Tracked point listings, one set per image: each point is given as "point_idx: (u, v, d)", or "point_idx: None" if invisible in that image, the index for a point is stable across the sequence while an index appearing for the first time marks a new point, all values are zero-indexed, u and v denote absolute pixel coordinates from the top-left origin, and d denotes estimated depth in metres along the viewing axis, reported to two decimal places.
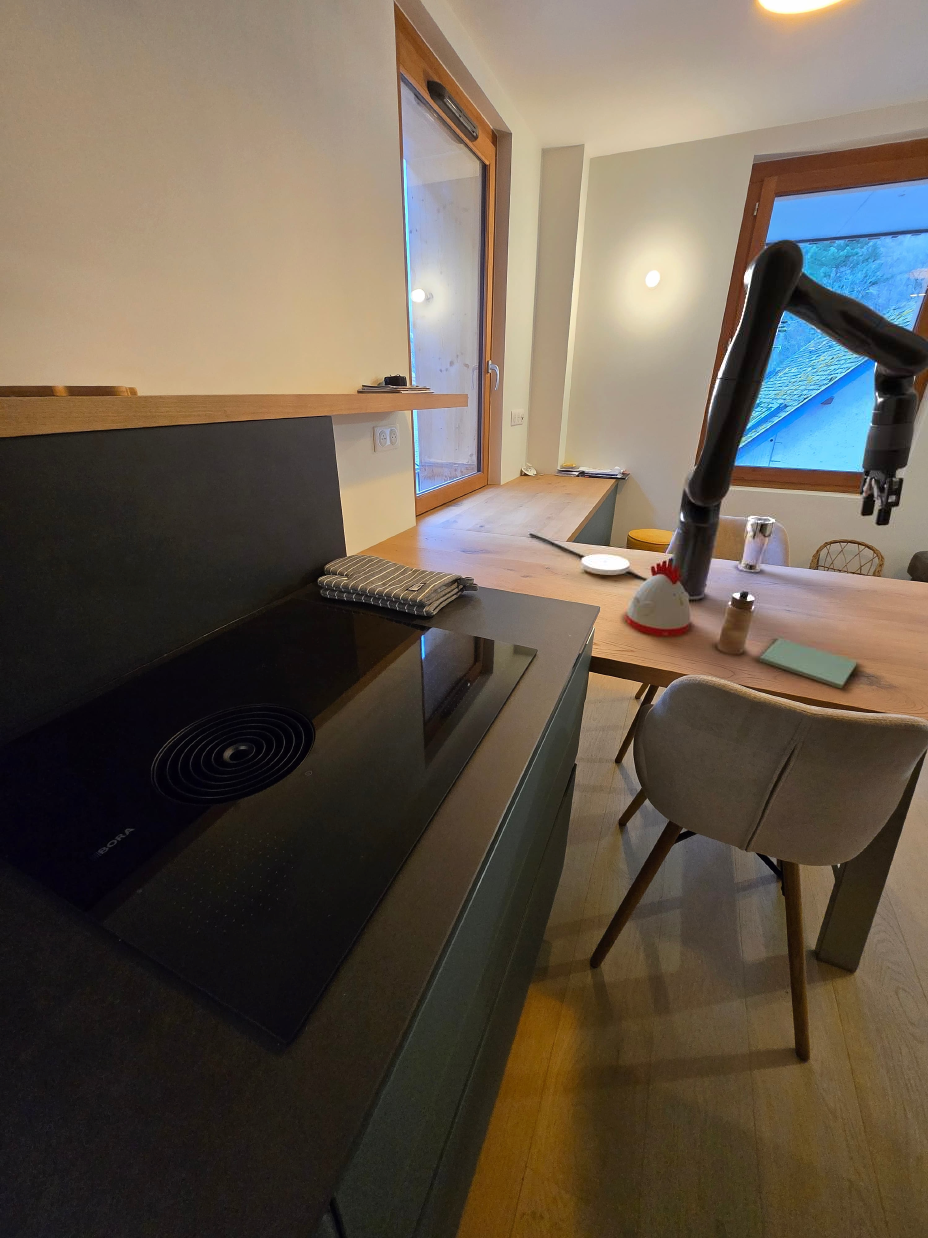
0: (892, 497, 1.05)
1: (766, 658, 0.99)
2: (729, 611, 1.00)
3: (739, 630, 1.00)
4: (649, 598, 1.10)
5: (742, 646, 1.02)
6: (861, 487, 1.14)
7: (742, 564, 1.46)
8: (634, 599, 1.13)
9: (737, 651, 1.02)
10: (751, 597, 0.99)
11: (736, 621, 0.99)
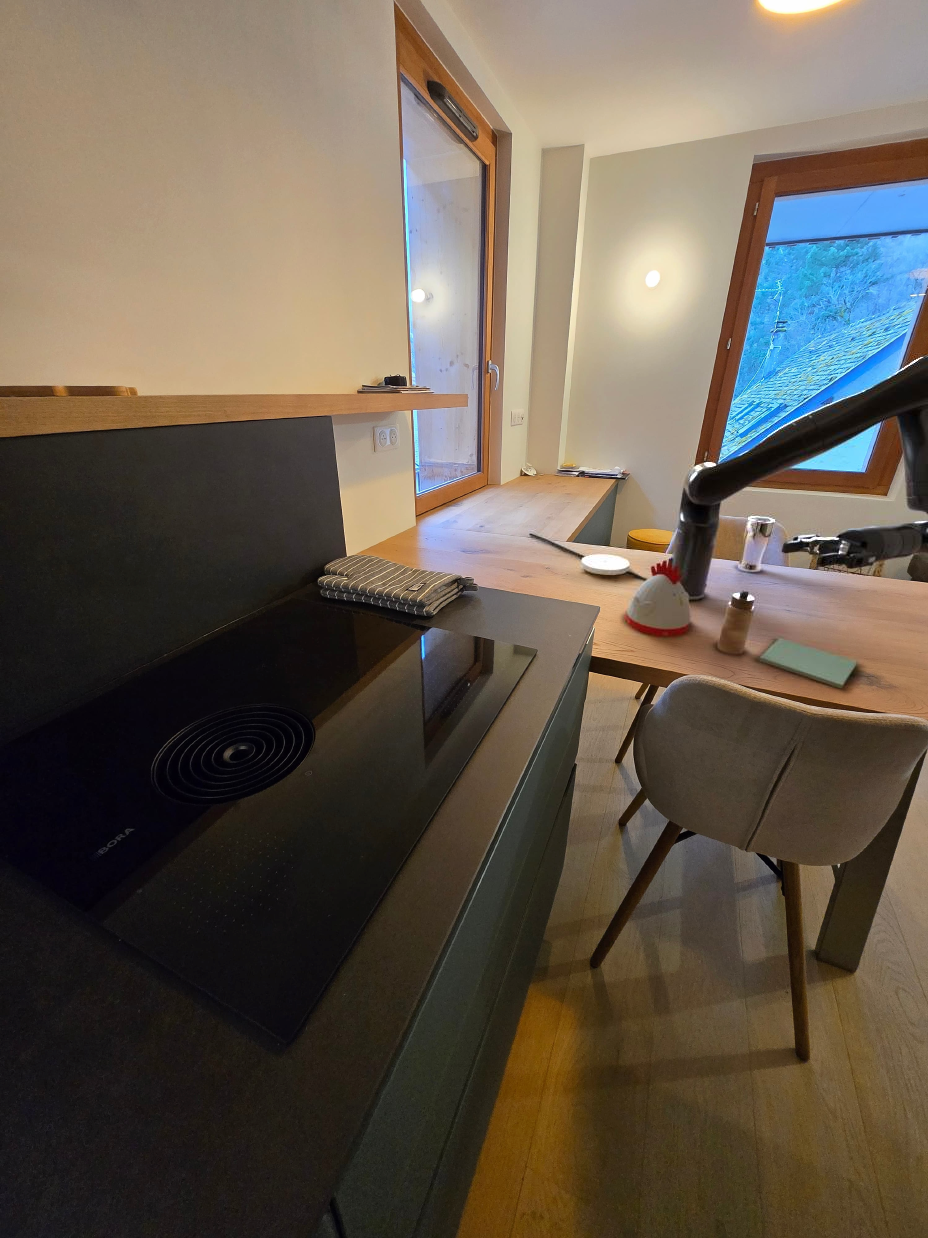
0: None
1: (766, 658, 0.99)
2: (729, 611, 1.00)
3: (739, 630, 1.00)
4: (649, 598, 1.10)
5: (742, 646, 1.02)
6: (802, 536, 1.04)
7: (742, 564, 1.46)
8: (634, 599, 1.13)
9: (737, 651, 1.02)
10: (751, 597, 0.99)
11: (736, 621, 0.99)
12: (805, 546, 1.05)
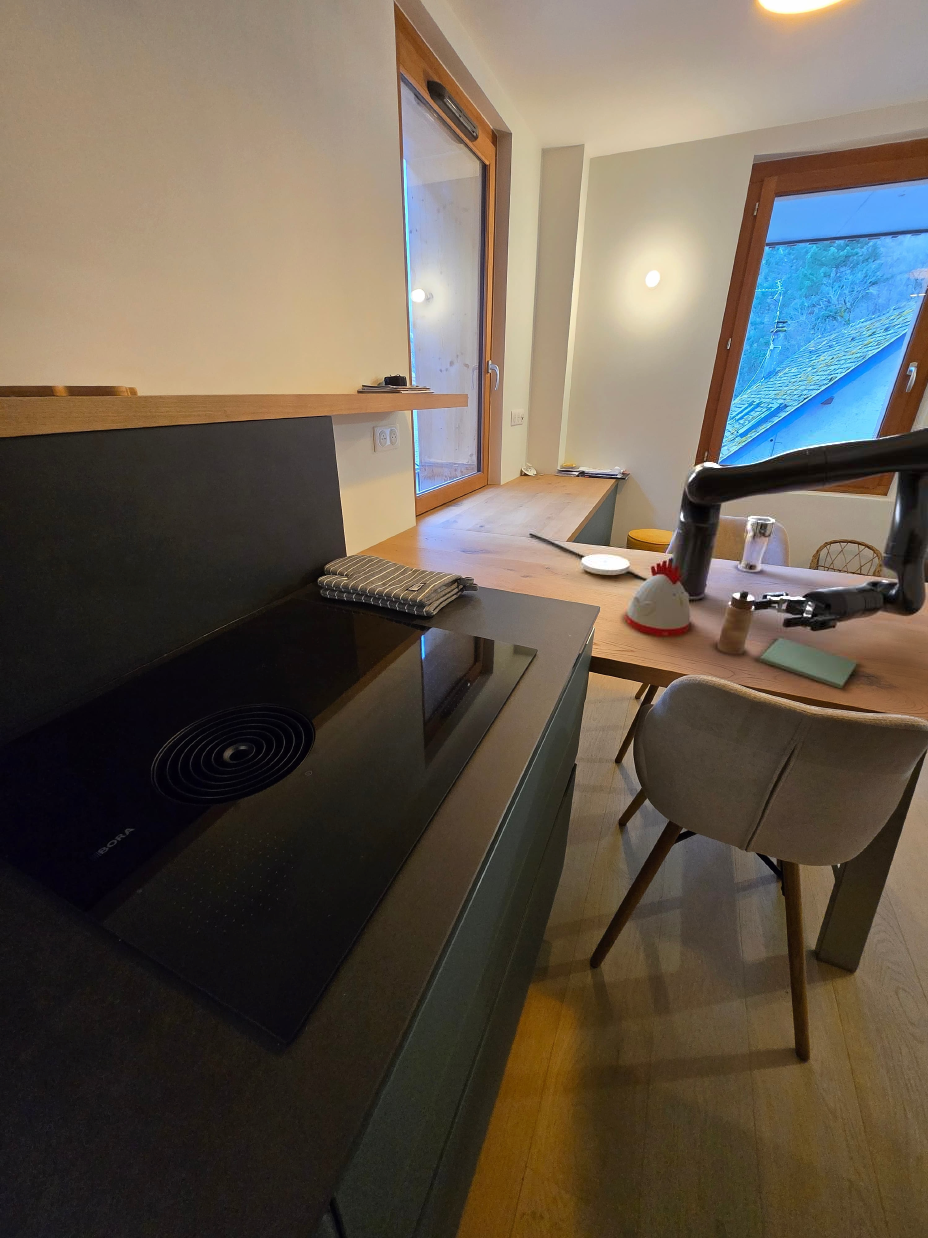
0: None
1: (766, 658, 0.99)
2: (729, 611, 1.00)
3: (739, 630, 1.00)
4: (649, 598, 1.10)
5: (742, 646, 1.02)
6: (771, 594, 1.09)
7: (742, 564, 1.46)
8: (634, 599, 1.13)
9: (737, 651, 1.02)
10: (751, 597, 0.99)
11: (736, 621, 0.99)
12: (774, 603, 1.09)
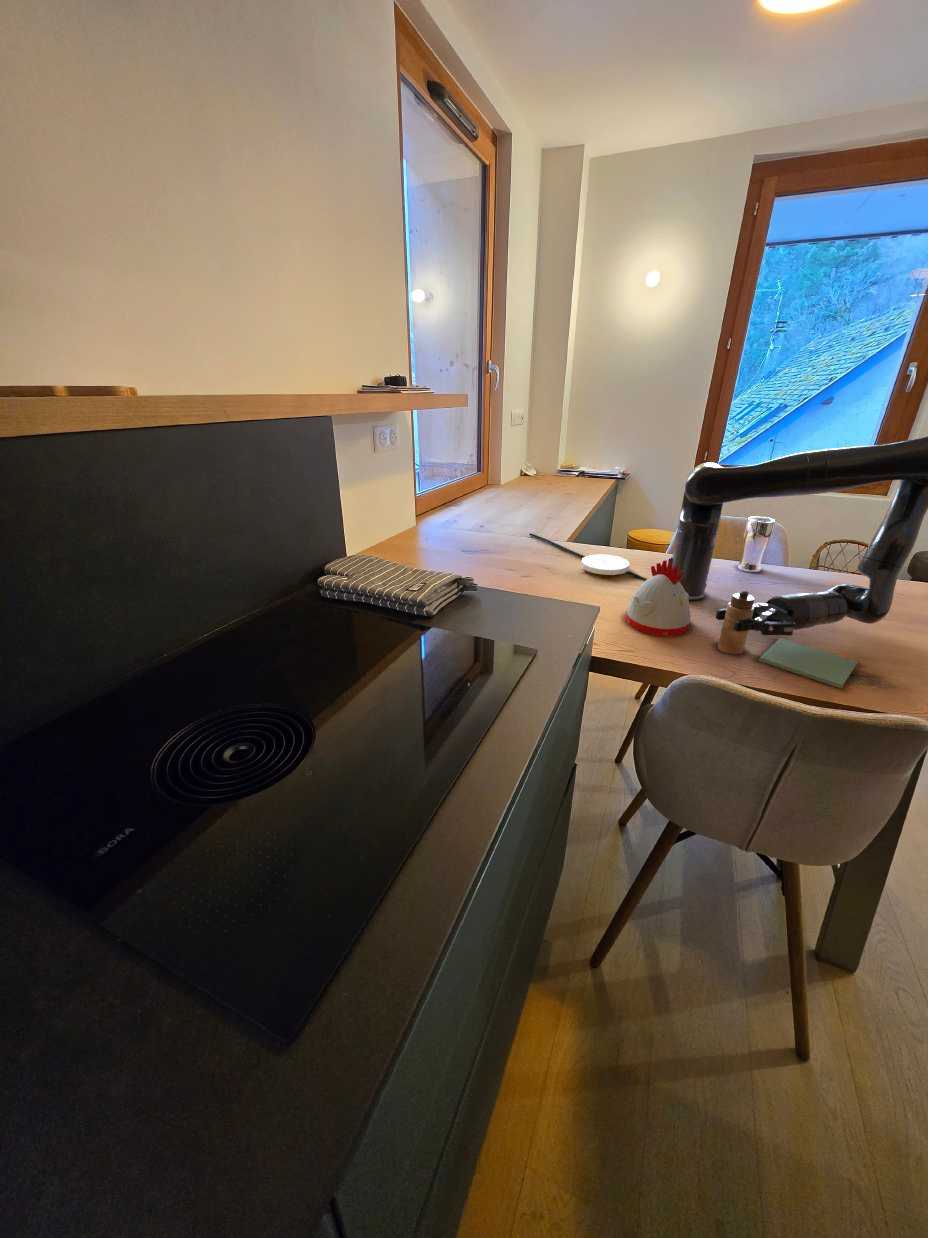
0: None
1: (766, 658, 0.99)
2: (729, 611, 1.00)
3: None
4: (649, 598, 1.10)
5: (742, 646, 1.02)
6: None
7: (742, 564, 1.46)
8: (634, 599, 1.13)
9: (737, 651, 1.02)
10: (751, 597, 0.99)
11: None
12: None
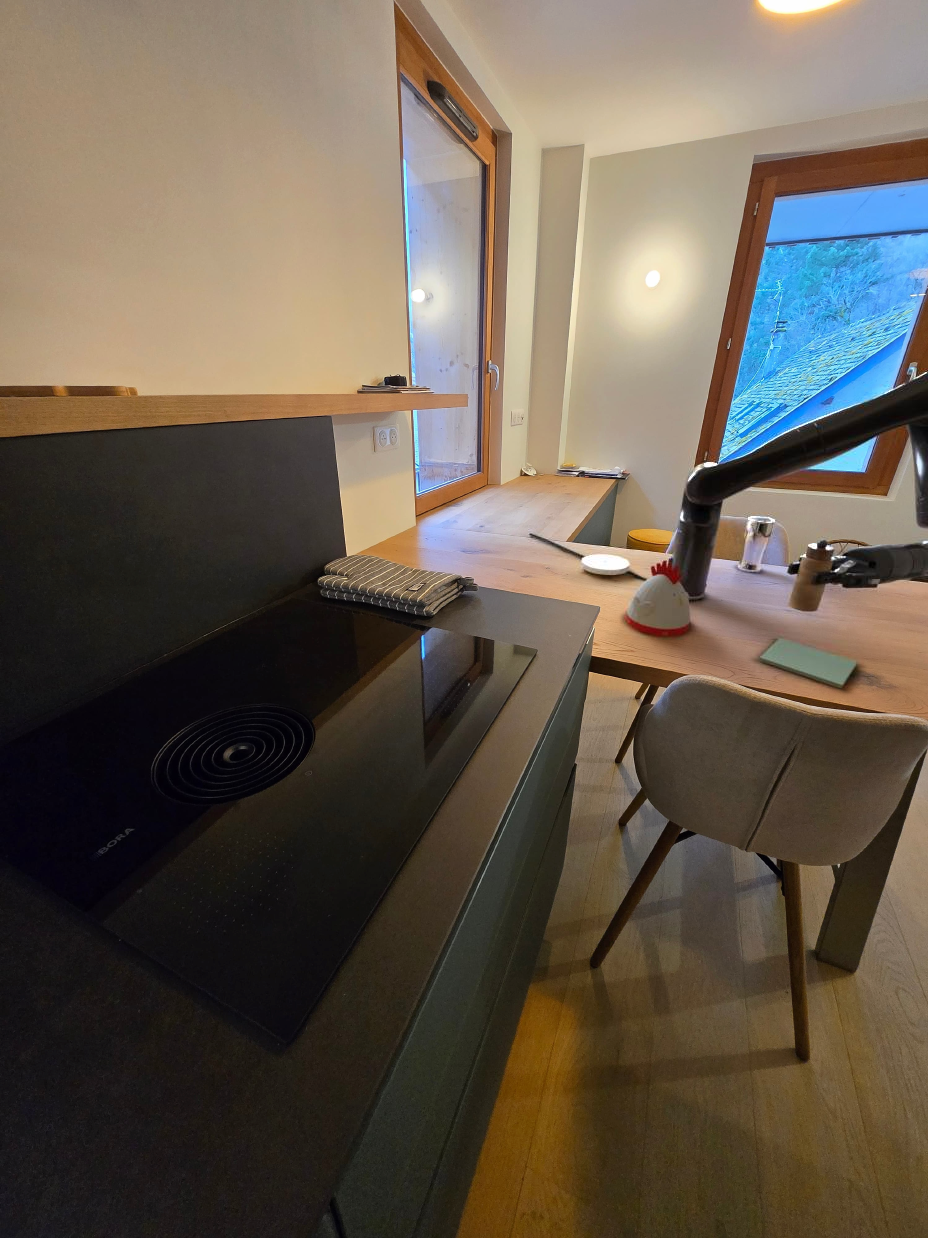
0: None
1: (766, 658, 0.99)
2: (805, 563, 0.91)
3: None
4: (649, 598, 1.10)
5: (818, 602, 0.92)
6: None
7: (742, 564, 1.46)
8: (634, 599, 1.13)
9: (812, 608, 0.93)
10: (830, 547, 0.89)
11: (813, 573, 0.90)
12: None
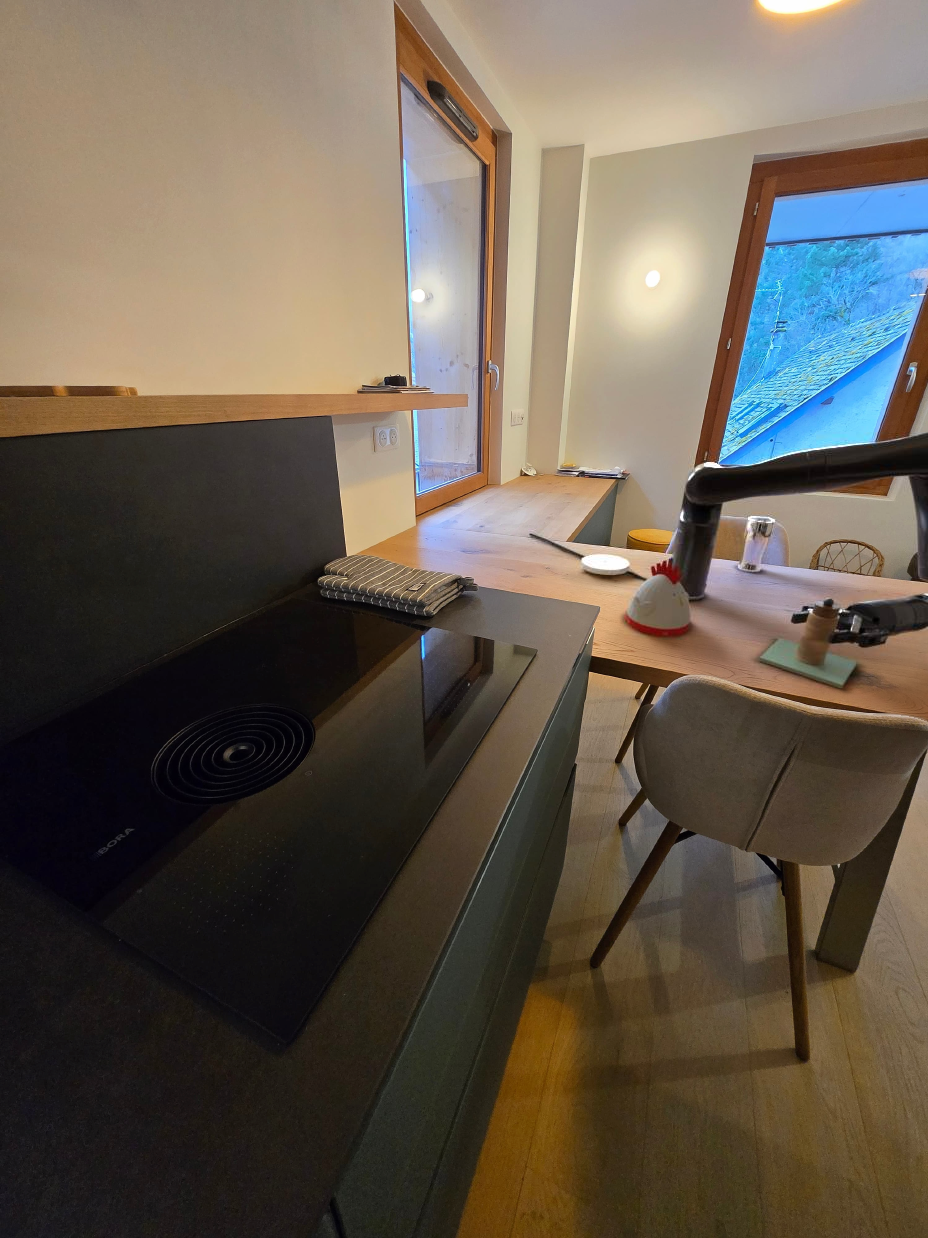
0: None
1: (766, 658, 0.99)
2: (812, 619, 0.94)
3: (822, 640, 0.94)
4: (649, 598, 1.10)
5: (824, 657, 0.96)
6: (811, 605, 1.01)
7: (742, 564, 1.46)
8: (634, 599, 1.13)
9: (818, 662, 0.96)
10: (836, 605, 0.93)
11: (820, 630, 0.93)
12: None
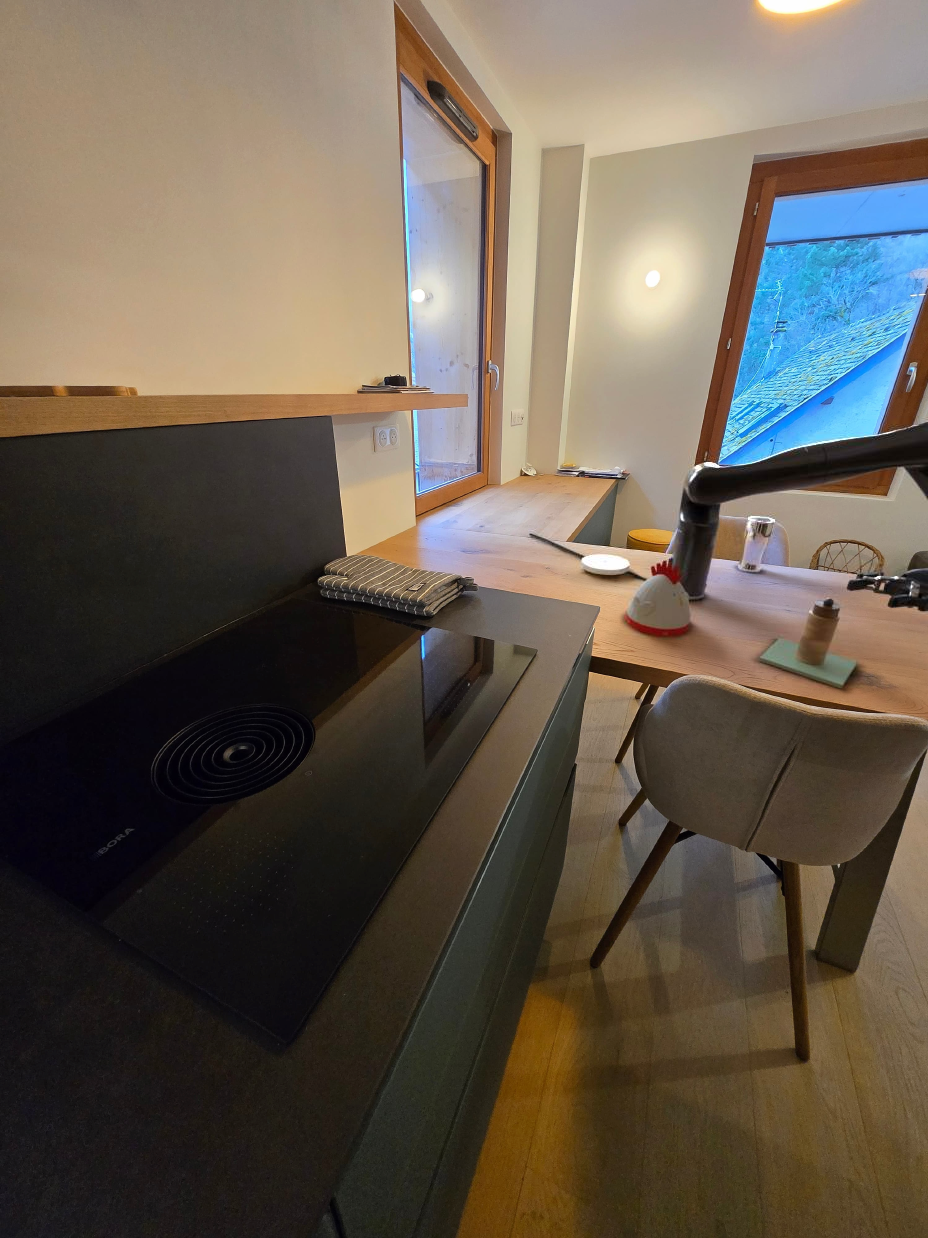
0: None
1: (766, 658, 0.99)
2: (812, 619, 0.94)
3: (822, 640, 0.94)
4: (649, 598, 1.10)
5: (824, 657, 0.96)
6: (866, 573, 1.03)
7: (742, 564, 1.46)
8: (634, 599, 1.13)
9: (818, 662, 0.96)
10: (836, 605, 0.93)
11: (820, 630, 0.93)
12: (868, 583, 1.03)
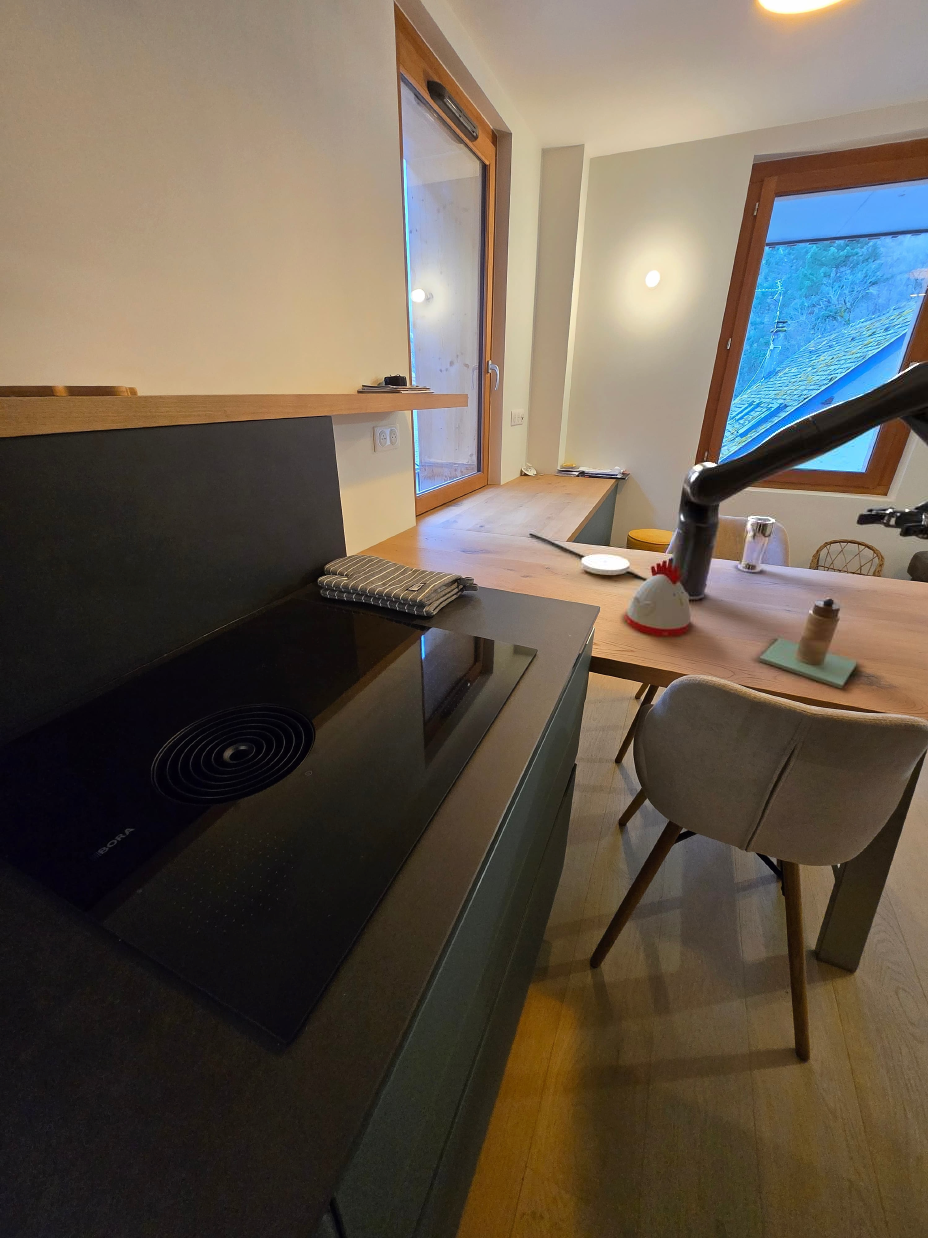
0: None
1: (766, 658, 0.99)
2: (812, 619, 0.94)
3: (822, 640, 0.94)
4: (649, 598, 1.10)
5: (824, 657, 0.96)
6: (876, 509, 1.00)
7: (742, 564, 1.46)
8: (634, 599, 1.13)
9: (818, 662, 0.96)
10: (836, 605, 0.93)
11: (820, 630, 0.93)
12: (879, 519, 1.01)
